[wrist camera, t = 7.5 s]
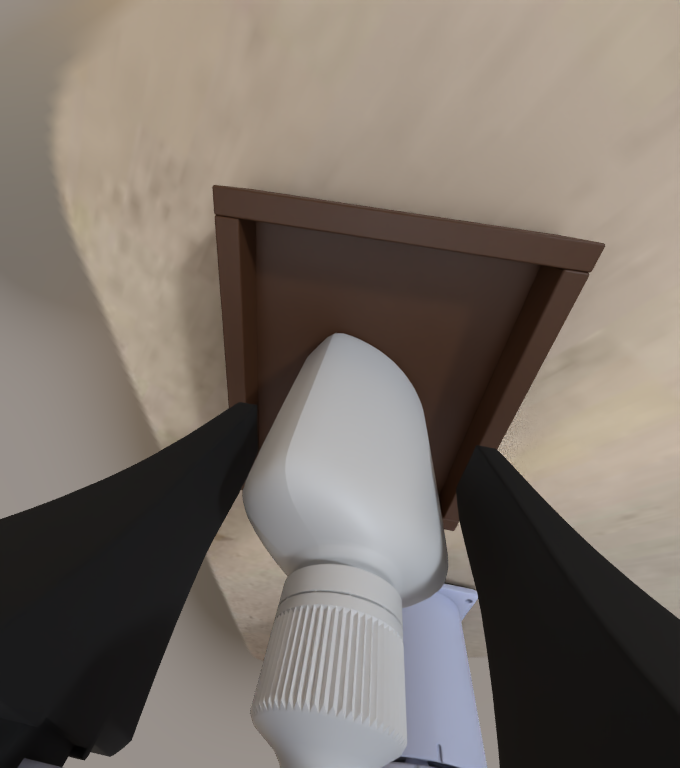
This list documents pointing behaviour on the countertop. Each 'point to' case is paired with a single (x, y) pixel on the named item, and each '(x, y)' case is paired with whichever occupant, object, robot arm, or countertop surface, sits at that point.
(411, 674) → the robot arm
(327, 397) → the eye dropper bottle
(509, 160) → the countertop surface
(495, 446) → the tray
